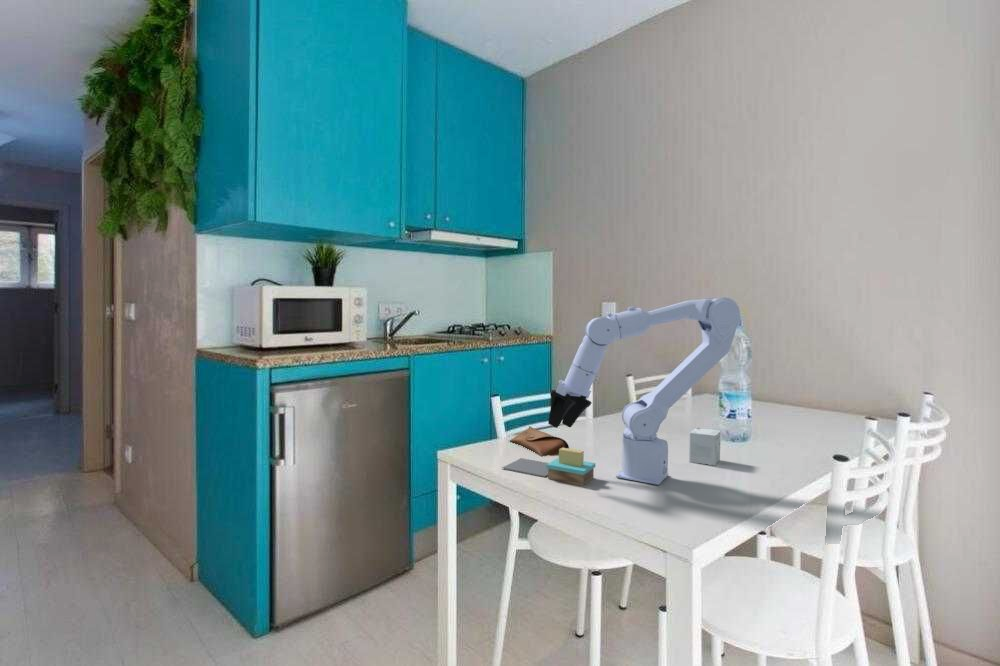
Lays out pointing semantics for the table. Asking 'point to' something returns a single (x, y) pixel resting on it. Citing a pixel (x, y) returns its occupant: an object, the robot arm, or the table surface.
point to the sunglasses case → (539, 442)
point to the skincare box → (704, 446)
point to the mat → (528, 467)
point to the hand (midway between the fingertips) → (559, 425)
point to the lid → (571, 462)
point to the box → (570, 476)
